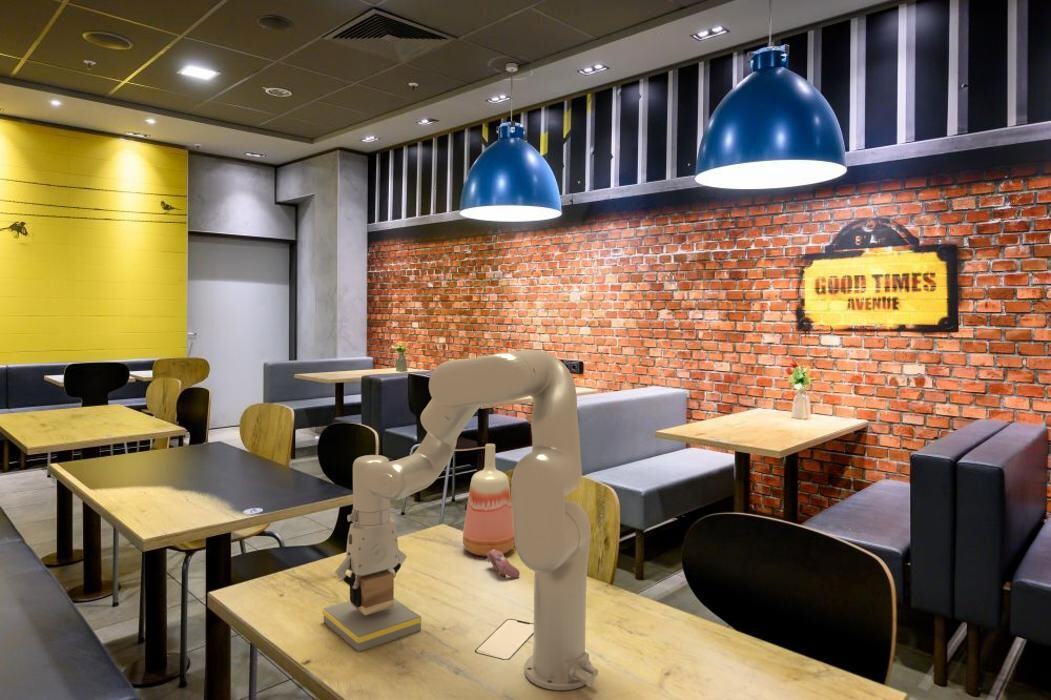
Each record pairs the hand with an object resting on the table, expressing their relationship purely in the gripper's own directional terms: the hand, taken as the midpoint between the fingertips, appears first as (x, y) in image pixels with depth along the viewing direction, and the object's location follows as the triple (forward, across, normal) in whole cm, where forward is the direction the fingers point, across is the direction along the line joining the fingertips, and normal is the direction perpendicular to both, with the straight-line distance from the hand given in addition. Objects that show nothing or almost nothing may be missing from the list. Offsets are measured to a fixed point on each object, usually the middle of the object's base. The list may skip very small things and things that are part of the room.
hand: (372, 599), depth 142 cm
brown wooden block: (+1, 0, 0) cm, 1 cm away
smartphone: (+6, +19, -22) cm, 30 cm away
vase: (+6, +46, +20) cm, 50 cm away
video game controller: (+6, +39, +6) cm, 40 cm away
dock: (+6, 0, 0) cm, 6 cm away
